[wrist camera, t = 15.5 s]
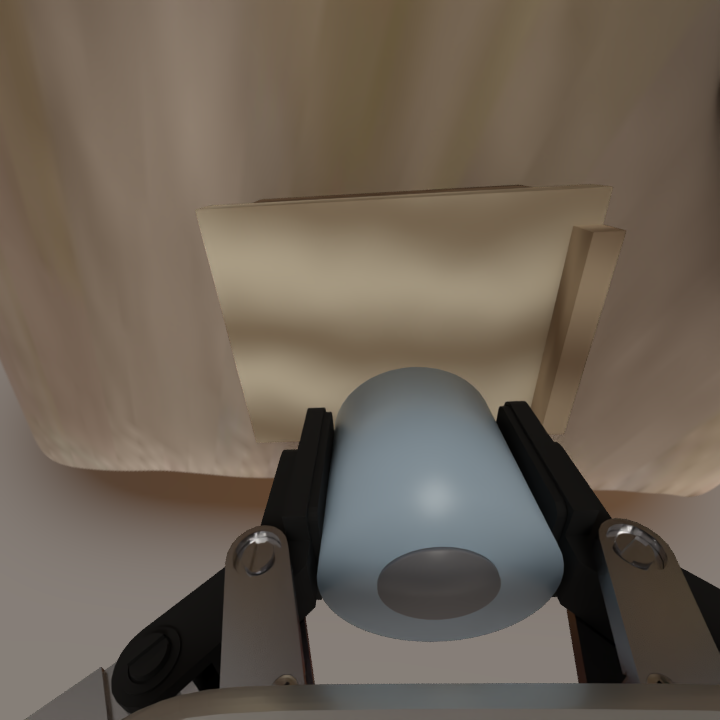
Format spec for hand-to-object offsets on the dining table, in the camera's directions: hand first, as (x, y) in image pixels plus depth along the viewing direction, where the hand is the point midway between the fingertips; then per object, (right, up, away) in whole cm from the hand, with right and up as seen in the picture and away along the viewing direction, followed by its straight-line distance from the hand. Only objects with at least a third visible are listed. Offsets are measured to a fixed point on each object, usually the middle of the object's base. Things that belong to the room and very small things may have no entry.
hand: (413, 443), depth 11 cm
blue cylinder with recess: (0, 0, 0) cm, 1 cm away
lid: (0, +4, +7) cm, 9 cm away
